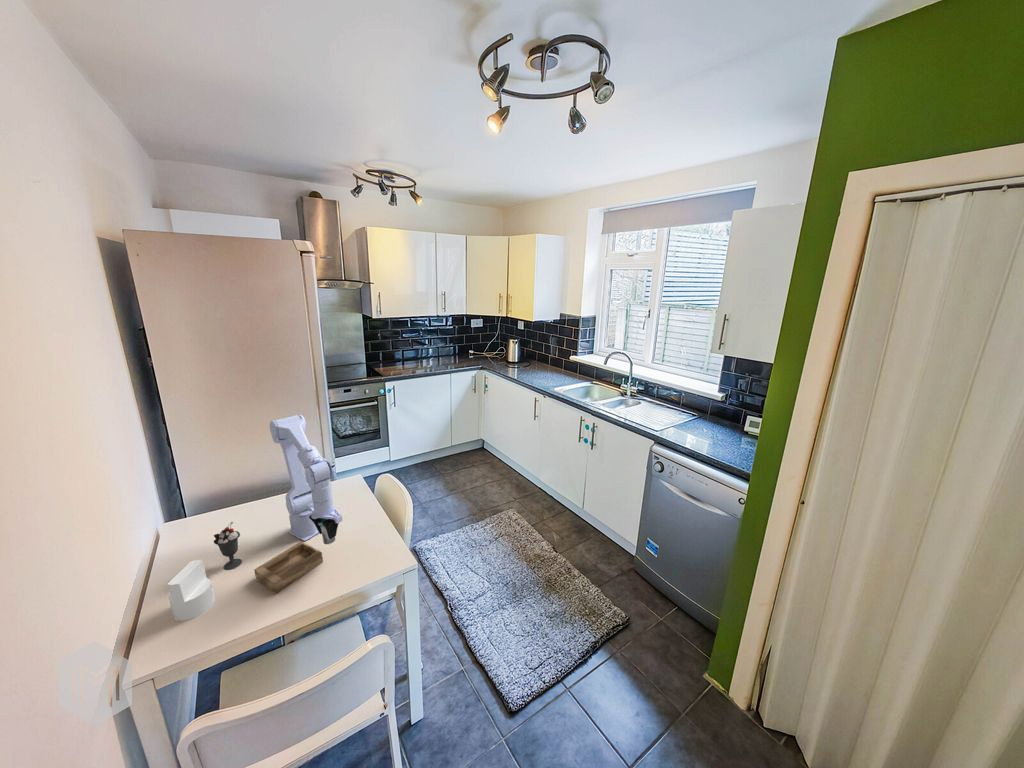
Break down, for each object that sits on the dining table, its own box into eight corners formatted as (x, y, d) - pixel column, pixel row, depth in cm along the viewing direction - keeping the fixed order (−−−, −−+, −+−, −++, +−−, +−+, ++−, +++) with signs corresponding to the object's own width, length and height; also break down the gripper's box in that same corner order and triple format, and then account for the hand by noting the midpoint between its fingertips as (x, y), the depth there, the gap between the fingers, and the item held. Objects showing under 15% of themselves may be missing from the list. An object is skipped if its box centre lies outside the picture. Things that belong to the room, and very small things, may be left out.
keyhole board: (256, 579, 116) (254, 569, 115) (302, 550, 128) (301, 541, 127) (277, 593, 110) (274, 583, 109) (323, 561, 123) (321, 552, 122)
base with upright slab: (200, 620, 102) (190, 583, 99) (165, 622, 101) (154, 585, 98) (222, 593, 111) (214, 559, 107) (190, 595, 110) (180, 560, 107)
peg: (318, 543, 122) (314, 522, 120) (331, 535, 126) (327, 515, 124) (327, 547, 120) (323, 526, 118) (340, 538, 124) (336, 518, 122)
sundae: (250, 559, 124) (242, 520, 120) (229, 574, 118) (220, 533, 114) (236, 554, 126) (227, 516, 122) (215, 568, 120) (205, 528, 116)
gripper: (296, 497, 119) (302, 534, 122) (326, 511, 112) (331, 549, 116) (316, 487, 125) (321, 522, 128) (346, 499, 118) (350, 536, 122)
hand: (327, 534), depth 122 cm, fingers closed on peg, 4 cm apart
